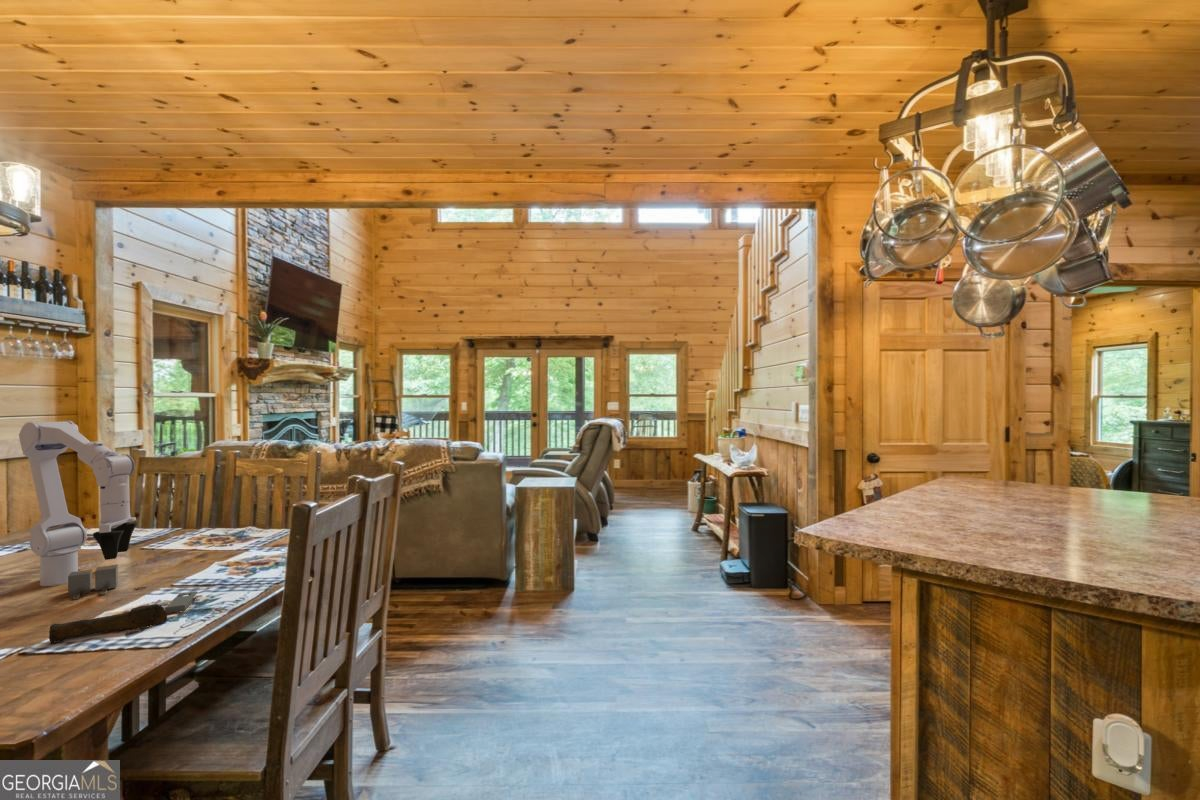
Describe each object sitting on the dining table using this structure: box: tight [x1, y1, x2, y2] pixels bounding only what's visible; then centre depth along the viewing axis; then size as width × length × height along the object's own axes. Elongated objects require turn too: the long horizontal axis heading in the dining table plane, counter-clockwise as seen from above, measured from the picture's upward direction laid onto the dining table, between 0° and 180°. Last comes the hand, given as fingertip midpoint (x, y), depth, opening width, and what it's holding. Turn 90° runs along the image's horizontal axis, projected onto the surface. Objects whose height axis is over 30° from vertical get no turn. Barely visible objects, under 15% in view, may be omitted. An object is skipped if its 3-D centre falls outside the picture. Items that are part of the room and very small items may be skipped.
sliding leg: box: [94, 564, 119, 596], centre depth 141 cm, size 8×4×5 cm, turn 36°
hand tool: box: [48, 603, 168, 645], centre depth 119 cm, size 19×4×5 cm, turn 121°
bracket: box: [164, 590, 199, 614], centre depth 135 cm, size 4×10×2 cm, turn 23°
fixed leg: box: [67, 569, 93, 601], centre depth 138 cm, size 8×4×5 cm, turn 36°
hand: (116, 555), depth 142 cm, fingers open, 7 cm apart
